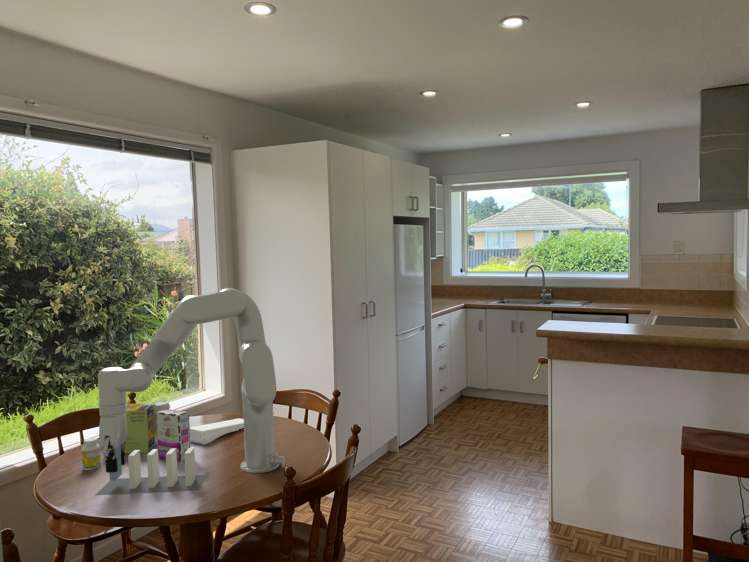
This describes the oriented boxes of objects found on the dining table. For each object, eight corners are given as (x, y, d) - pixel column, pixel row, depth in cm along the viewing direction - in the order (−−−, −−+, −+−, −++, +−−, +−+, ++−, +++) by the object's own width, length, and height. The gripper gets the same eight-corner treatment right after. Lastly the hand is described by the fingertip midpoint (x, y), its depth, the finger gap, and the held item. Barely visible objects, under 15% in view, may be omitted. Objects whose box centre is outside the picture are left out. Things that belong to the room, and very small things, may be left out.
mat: (208, 476, 179) (208, 474, 179) (199, 491, 167) (199, 490, 167) (111, 480, 177) (111, 478, 177) (94, 496, 165) (94, 495, 165)
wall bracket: (238, 436, 236) (185, 448, 212) (235, 418, 237) (183, 428, 213) (256, 433, 231) (204, 445, 207) (253, 415, 233) (202, 425, 208)
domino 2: (159, 480, 174) (158, 449, 174) (153, 487, 169) (152, 454, 169) (154, 481, 174) (152, 449, 174) (148, 487, 169) (147, 455, 169)
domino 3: (177, 480, 175) (176, 448, 174) (172, 486, 170) (171, 453, 169) (172, 480, 175) (170, 448, 174) (167, 487, 170) (165, 454, 169)
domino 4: (195, 479, 175) (194, 447, 174) (191, 485, 170) (189, 453, 169) (190, 479, 175) (189, 447, 174) (185, 486, 170) (184, 453, 169)
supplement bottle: (100, 469, 187) (99, 440, 187) (82, 472, 185) (81, 443, 184) (100, 463, 192) (99, 435, 192) (83, 466, 190) (81, 438, 189)
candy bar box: (192, 458, 195) (189, 411, 194) (180, 463, 190) (178, 415, 190) (168, 453, 200) (166, 408, 199) (157, 458, 196) (155, 411, 195)
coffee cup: (151, 430, 228) (150, 401, 228) (173, 429, 229) (172, 399, 228) (145, 437, 220) (144, 406, 219) (168, 435, 221) (166, 405, 220)
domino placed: (121, 474, 174) (120, 442, 173) (115, 480, 169) (113, 447, 168) (116, 474, 174) (115, 442, 173) (109, 480, 169) (108, 447, 168)
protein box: (149, 452, 202) (147, 409, 201) (104, 455, 201) (102, 411, 200) (158, 443, 212) (156, 402, 212) (115, 445, 211) (113, 404, 210)
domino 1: (141, 481, 174) (139, 449, 174) (135, 488, 169) (133, 455, 169) (136, 482, 174) (134, 450, 174) (129, 488, 169) (128, 455, 169)
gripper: (112, 402, 179) (114, 458, 179) (87, 417, 162) (90, 480, 162) (136, 401, 179) (138, 457, 180) (114, 416, 162) (117, 479, 163)
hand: (115, 467), depth 171 cm, fingers closed on domino placed, 4 cm apart
